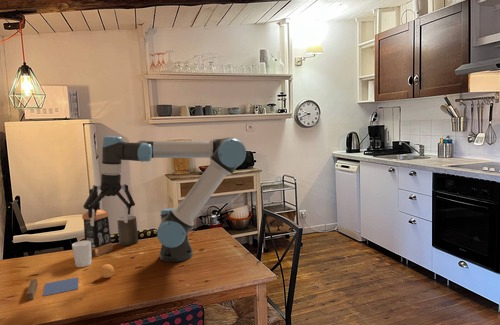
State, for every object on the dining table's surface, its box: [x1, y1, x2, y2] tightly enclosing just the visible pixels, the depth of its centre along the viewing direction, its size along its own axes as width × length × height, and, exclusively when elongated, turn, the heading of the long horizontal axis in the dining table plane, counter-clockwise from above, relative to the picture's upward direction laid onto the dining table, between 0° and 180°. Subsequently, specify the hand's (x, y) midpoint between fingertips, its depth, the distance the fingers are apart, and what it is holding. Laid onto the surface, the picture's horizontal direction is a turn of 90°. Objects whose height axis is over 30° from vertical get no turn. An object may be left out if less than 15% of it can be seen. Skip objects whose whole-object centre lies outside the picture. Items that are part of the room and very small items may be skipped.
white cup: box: [71, 240, 92, 268], centre depth 167 cm, size 8×8×10 cm
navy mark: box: [42, 276, 79, 297], centre depth 145 cm, size 12×12×1 cm
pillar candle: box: [116, 215, 139, 247], centre depth 195 cm, size 10×10×15 cm
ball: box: [99, 263, 115, 279], centre depth 152 cm, size 6×6×6 cm
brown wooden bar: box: [25, 278, 39, 301], centre depth 141 cm, size 2×14×2 cm, turn 24°
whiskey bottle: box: [81, 188, 113, 257], centre depth 181 cm, size 10×10×32 cm
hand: (109, 223), depth 154 cm, fingers open, 13 cm apart
